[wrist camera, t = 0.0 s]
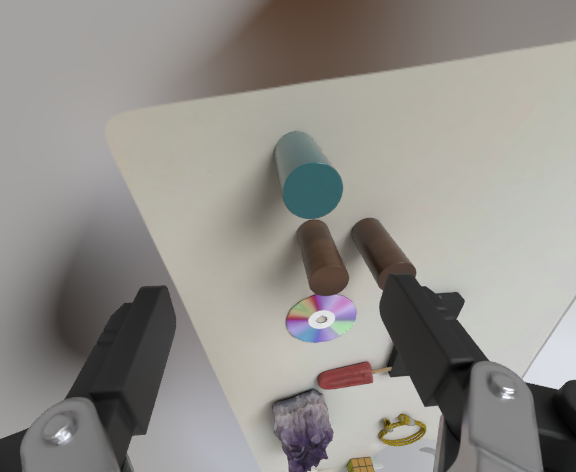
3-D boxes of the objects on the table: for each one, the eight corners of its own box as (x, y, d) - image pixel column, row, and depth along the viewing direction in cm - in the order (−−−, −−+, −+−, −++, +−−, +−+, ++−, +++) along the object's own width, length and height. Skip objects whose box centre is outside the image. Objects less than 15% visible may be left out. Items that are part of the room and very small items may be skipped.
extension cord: (433, 408, 65) (438, 417, 63) (418, 438, 73) (422, 446, 72) (382, 415, 64) (386, 424, 62) (373, 444, 73) (376, 453, 71)
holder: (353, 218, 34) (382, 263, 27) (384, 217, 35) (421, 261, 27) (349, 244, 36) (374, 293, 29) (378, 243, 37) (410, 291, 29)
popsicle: (400, 378, 52) (321, 392, 53) (396, 369, 53) (319, 383, 54) (399, 364, 49) (317, 380, 50) (395, 355, 51) (315, 371, 52)
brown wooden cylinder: (297, 220, 34) (310, 266, 26) (330, 219, 34) (351, 264, 26) (296, 247, 36) (308, 297, 28) (326, 245, 36) (346, 295, 29)
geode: (329, 429, 65) (334, 485, 57) (280, 429, 66) (278, 484, 58) (331, 386, 53) (337, 448, 45) (271, 386, 54) (267, 448, 46)
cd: (353, 285, 40) (353, 286, 40) (359, 333, 46) (359, 333, 46) (278, 303, 41) (278, 304, 41) (294, 348, 47) (294, 348, 47)
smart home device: (468, 299, 42) (429, 374, 53) (461, 291, 44) (425, 366, 55) (416, 303, 42) (388, 378, 52) (410, 294, 43) (384, 369, 54)
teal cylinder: (274, 131, 28) (283, 162, 19) (319, 131, 28) (347, 162, 20) (274, 175, 30) (282, 220, 22) (315, 174, 31) (339, 218, 22)
